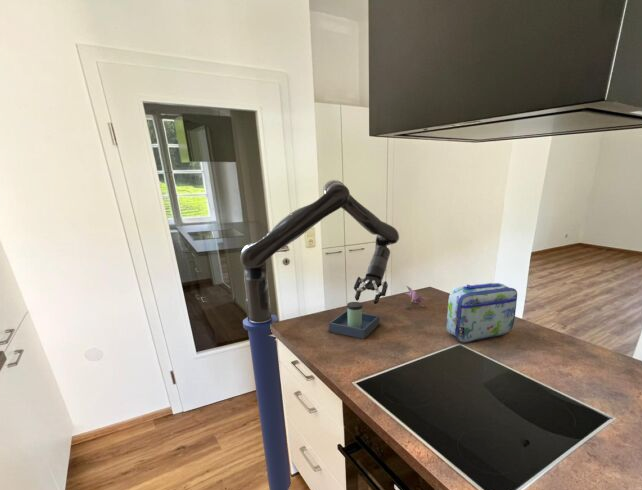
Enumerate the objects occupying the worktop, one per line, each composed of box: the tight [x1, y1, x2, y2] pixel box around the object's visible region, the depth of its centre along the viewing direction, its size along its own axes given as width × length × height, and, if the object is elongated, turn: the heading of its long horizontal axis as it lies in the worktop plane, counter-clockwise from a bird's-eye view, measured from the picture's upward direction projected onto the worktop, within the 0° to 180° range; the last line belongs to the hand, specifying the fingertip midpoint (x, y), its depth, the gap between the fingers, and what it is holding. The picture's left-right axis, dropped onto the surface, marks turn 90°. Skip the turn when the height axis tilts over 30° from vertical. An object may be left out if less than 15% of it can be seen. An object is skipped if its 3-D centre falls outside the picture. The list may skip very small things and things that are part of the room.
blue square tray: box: [328, 309, 380, 340], centre depth 145 cm, size 15×15×4 cm
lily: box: [405, 285, 428, 309], centre depth 168 cm, size 12×12×10 cm
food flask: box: [346, 301, 363, 328], centre depth 144 cm, size 6×6×10 cm
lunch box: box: [446, 282, 518, 344], centre depth 137 cm, size 26×11×21 cm, turn 108°
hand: (365, 301), depth 153 cm, fingers open, 8 cm apart
